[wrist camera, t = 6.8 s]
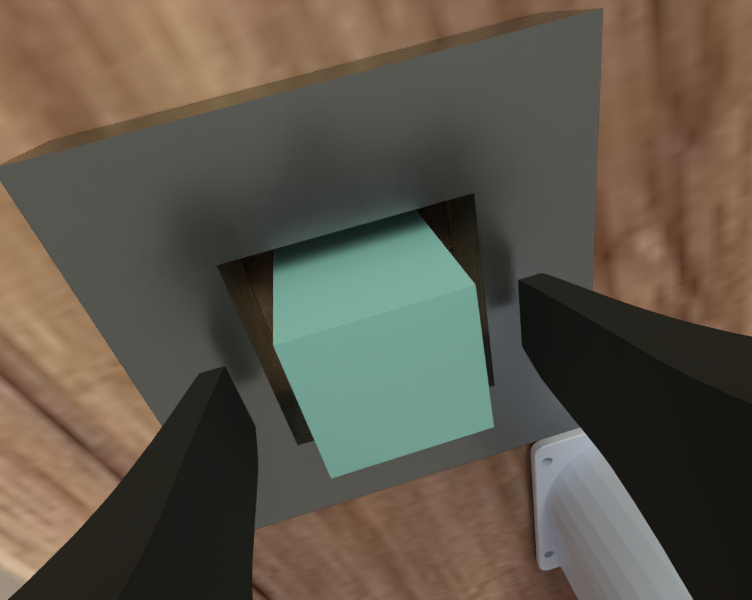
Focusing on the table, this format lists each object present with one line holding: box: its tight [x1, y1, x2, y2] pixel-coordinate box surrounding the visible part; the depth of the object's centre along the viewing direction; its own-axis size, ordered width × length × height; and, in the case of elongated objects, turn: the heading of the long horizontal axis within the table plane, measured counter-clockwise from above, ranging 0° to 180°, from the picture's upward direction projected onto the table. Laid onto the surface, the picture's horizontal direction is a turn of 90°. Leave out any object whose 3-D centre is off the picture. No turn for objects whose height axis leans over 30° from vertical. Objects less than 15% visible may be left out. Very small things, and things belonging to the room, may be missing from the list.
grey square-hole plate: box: [0, 8, 603, 529], centre depth 13 cm, size 12×12×2 cm
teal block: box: [273, 210, 494, 478], centre depth 12 cm, size 4×4×5 cm
